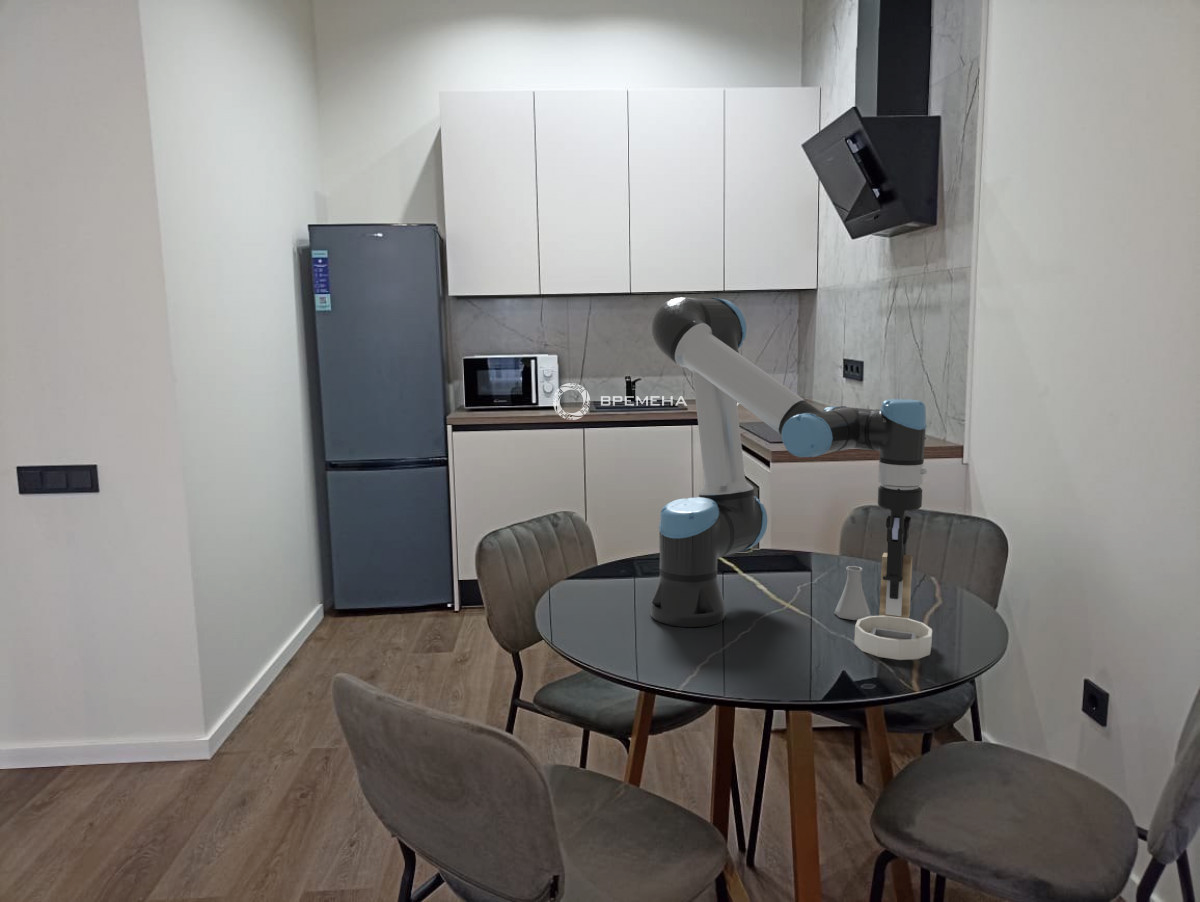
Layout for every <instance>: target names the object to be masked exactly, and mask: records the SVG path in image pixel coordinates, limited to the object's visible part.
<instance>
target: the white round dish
mask: <svg viewBox="0 0 1200 902" xmlns="http://www.w3.org/2000/svg"><path fill="white" fill-rule="evenodd" d="M932 638H933V628H931V627H930V626H928V625H926V624H925V623H924V622H922V621H918V620H915V619H912V618H900V617H892V616H884V615H871V616H868V617H865V618H862V619H859V620H856V623H855V625H854V641H853V642H854V643H853V644H854V645H855V646H856V647H857V648H858V649H859V650H860V651H861V652H863V653H867V654H868V655H869V654H870V655H872V656H876V657H878V658H885V659H890V660H891V659H892V660H897V661H903V660H905V661H906V660H920V659H922V658H925V657H927V656H930V655H931V651H932V644H933V643H932V642H933V639H932Z"/></svg>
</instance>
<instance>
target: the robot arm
mask: <svg viewBox="0 0 1200 902" xmlns="http://www.w3.org/2000/svg"><path fill="white" fill-rule="evenodd" d="M747 330H748V329H747V322H746V318H745V315H744V313H743V312H742V311H741V309H740V308H739V307H738V306H737V305H736V304H735V303H733V302H732V301H729V300H727V299H722V298H718V297H685V296H683V297H680V296H679V297H675V298H672V299H669V300H667V301H666V302H665V303H663V304H662V305H661V306H660V307H659V308H658V309H657V311H656V312H655V314H654V316H653V319H652V322H651V334H652V338H653V340H654V343H655V345H656V347H657V348H658V349H659V350H660V351H661V352H662V354H664V355H665V356H666V357H668V358H669V359H670V360H671V361H672V362H674V363H675V364H676V365H678V366H679V367H682V368H687V369H688V370H690V372H691V373H692V382H693V389H694V397H695V406H696V407H695V409H696V416H697V425H698V433H699V443H700V452H701V459H702V470H703V478H704V484H703V487H702V488H701V489H700V491H698V496H697V497H688V498H679V499H675V500H672V501H670V502H668V503H666V504H665V505H664V506H663V507H662V509H661V510H660V519H659V524H658V530H659V578H658V581H657V584H656V588H655V590H654V593H653V596H652V598H651V601H650V616H651V617H652V619H654V620H655V621H656V622H659V623H662V624H665V625H670V626H673V627H683V628H699V627H708V626H713V625H716V624H719V623H721V622H722V621H723V620H724V619H725V617H726V604H725V601H724V598H723V594H722V591H721V588H720V585H719V582H718V559H720V558H722V557H726V556H730V555H733V554H735V553H742V552H745V551H747V550H748V549H750V548H752V547H754V546H757V544H759V542H760V541H761V540H762V539H763V538H764V536H765V534H766V531H767V528H768V521H769V520H768V514H767V510H766V508H765V505H764V504H763V503H761V500H760V499H759V498H758V497H757V496H755V491H754V490H755V489H754V486H753V485H752V484H750V483H749V482H748V481H747V480H746V475H745V466H744V457H743V446H742V439H741V430H740V421H739V410H738V404H739V405H740V406H742V407H743V408H744V409H746V410H747V411H749V412H750V414H752V415H753V416H755V417H757V418H758V419H759V420H761V421H762V422H763V423H765V424H766V425H767V426H769V427H770V428H771V429H773V430H774V431H775V432H777V433H778V434H780V435H781V441H782V444H783V445H784V448H785V449H786V451H787V452H789V454H791V455H793V456H795V457H798V458H814V457H819V456H822V455H826V454H829V453H835V452H836V453H837V452H840V451H845V450H849V449H850V450H851V449H855V450H856V449H858V450H869V451H878V452H879V461H878V477H877V479H878V480H877V482H878V483H879V484H880V485H879V486H878V488H877V505H878V506H879V507H880V508H882V509H885V510H886V509H887V510H890V514H888V515H887V517H886V521H885V523H886V524H885V526H886V528H887V529H886V542H887V552H886V553H887V574H886V576H883V580H887V590H886V612H885V614H887V615H895V616H901V613H902V593H903V577H902V571H903V555H907V549H908V548H907V546H908V539H909V536H910V527H911V524H912V523H911V522H912V516H909V515H908V511H909V512H910V511H911V512H912V511H917V510H919V509H921V508H922V505H923V504H922V503H923V489H922V487H921V486H922V485H923V479H924V477H923V476H924V475H927V474H928V470H927V468H923V467H924V463H925V460H924V459H925V457H924V456H925V444H926V431H927V430H926V429H927V427H928V426H927V420H926V418H927V417H926V413H927V412H926V404H925V403H924V402H923V401H922V400H917V399H909V398H908V399H906V398H905V399H904V398H903V399H901V398H893V399H892V398H891V399H885V400H883V401H882V403H881V408H879V409H875V408H874V409H871V408H863V407H862V408H860V407H851V406H850V407H849V406H848V407H847V406H846V405H845V406H844V405H839V406H827V407H825V408H823V410H820V409H819V408H817V407H816V406H814V405H812V404H811V403H809V402H808V401H806V400H805V399H804V398H803V397H801V396H800V395H798V394H797V393H796V392H794V391H793V390H792V389H790V388H789V387H787V386H785V384H783V383H782V382H780V381H779V380H777V379H775V378H774V377H773V376H772V375H770V374H768V373H767V372H766V371H765V370H763V369H761V368H760V367H759V366H758V365H756V364H755V363H753V362H752V361H750V360H749V359H748V358H746V357H744V355H742V354H740V353H739V349H740V348H741V347H742V345H743V342H744V341H745V339H746V337H747Z"/></svg>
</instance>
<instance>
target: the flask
mask: <svg viewBox="0 0 1200 902" xmlns="http://www.w3.org/2000/svg"><path fill="white" fill-rule="evenodd" d="M845 569H846V571H847V577H846V581H845V586H844V589H843V591H842V594H841V596H840V598H839V600H838V602H837V606H836V607H835V609H834V615H836V616H837V617H838V618H840V619H845V620H852V621H857V620H859V619H862V618H865V617H868V616H872V614H871V611H870V608H869V605H868V602H867V599H866V596H865V593H864V589H863V586H862V585H863V584H862V572H863V568H862V567H861V566H856V565H852V566H851V565H850V566H849V565H848V566H846V567H845Z"/></svg>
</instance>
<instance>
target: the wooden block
mask: <svg viewBox="0 0 1200 902" xmlns="http://www.w3.org/2000/svg"><path fill="white" fill-rule="evenodd" d="M912 572H913V555H911V554H906V555H903V571H902V577H903V593H902V613H901V616H895V615H887V614H885V612H886V590H887V580H883V576H886V574H887V552H883V554H882V556H881V572H880V592H879V593H880V594H879V596H880V597H879V612H878V613H879V614H878V616H883V615H884V616H892V617H900V618H909V617H910V613H911V612H910V611H911V593H912V591H911V590H912ZM909 619H910V618H909Z"/></svg>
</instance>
